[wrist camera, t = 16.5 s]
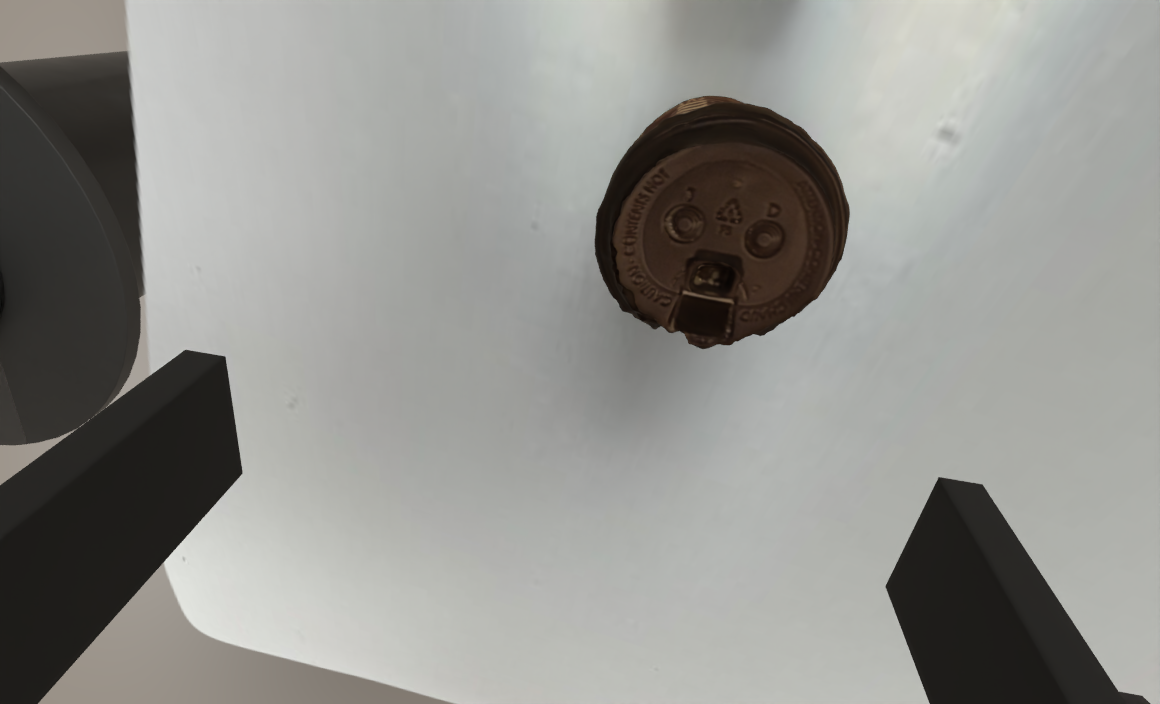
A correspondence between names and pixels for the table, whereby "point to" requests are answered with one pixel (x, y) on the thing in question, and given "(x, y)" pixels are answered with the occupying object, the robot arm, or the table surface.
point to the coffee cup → (720, 222)
